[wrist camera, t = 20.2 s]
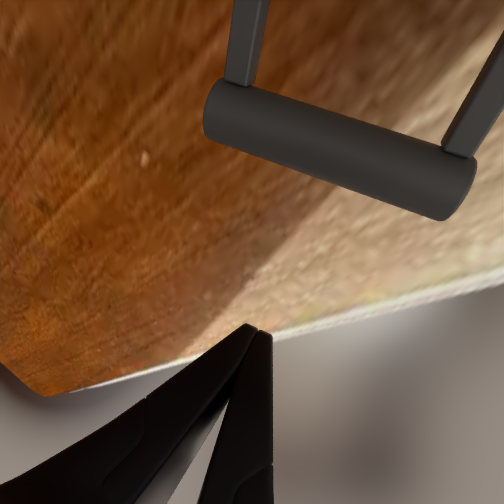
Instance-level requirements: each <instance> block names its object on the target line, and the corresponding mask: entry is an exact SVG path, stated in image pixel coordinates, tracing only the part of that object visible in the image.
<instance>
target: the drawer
mask: <svg viewBox="0 0 504 504" xmlns="http://www.w3.org/2000/svg"><path fill="white" fill-rule="evenodd" d="M269 4H270V0H234V6H233V14H232V21H231V29H230V36H229V43H228V51H227V58H226V66H225V73H224V78H221V79H219V80H217V81H216V82H215V84H214V85H213V87H212V88H211V90H210V92H209V95H208V97H207V100H206V104H205V108H204V114H203V129H204V133H205V135H206V136H207V137H208V138H209V139H210V140H212V141H215V142H218V143H221V144H223V145H226V146H229V147H232V148H235V149H237V150H240V151H243V152H246V153H249V154H251V155H254V156H257V157H260V158H263V159H265V160H268V161H271V162H274V163H277V164H279V165H282V166H285V167H288V168H291V169H293V170H296V171H299V172H302V173H304V174H307V175H310V176H313V177H316V178H318V179H321V180H324V181H327V182H330V183H332V184H335V185H338V186H341V187H344V188H346V189H349V190H352V191H355V192H358V193H360V194H363V195H366V196H369V197H372V198H374V199H377V200H380V201H383V202H386V203H388V204H391V205H394V206H397V207H400V208H402V209H405V210H408V211H411V212H414V213H416V214H419V215H422V216H425V217H428V218H430V219H433V220H436V221H445V220H446V219H448V218H449V217H450V216H451V215H452V214H453V213H454V212H455V211H456V210H457V209H458V207H459V206H460V205H461V203H462V202H463V200H464V199H465V197H466V195H467V194H468V192H469V190H470V188H471V185H472V183H473V181H474V178H475V174H476V170H477V160H476V159H475V158H474V157H473V155H474V154H475V152H476V151H477V149H478V147H479V146H480V144H481V143H482V141H483V140H484V138H485V137H486V135H487V133H488V132H489V130H490V129H491V127H492V126H493V124H494V123H495V121H496V120H497V118H498V116H499V115H500V113H501V112H502V110H503V109H504V31H503V33H502V34H501V36H500V38H499V40H498V41H497V43H496V45H495V47H494V48H493V50H492V52H491V54H490V55H489V57H488V59H487V61H486V63H485V64H484V66H483V68H482V70H481V71H480V73H479V75H478V77H477V78H476V80H475V82H474V84H473V85H472V87H471V89H470V91H469V93H468V94H467V96H466V98H465V100H464V101H463V103H462V105H461V107H460V108H459V110H458V112H457V114H456V115H455V117H454V119H453V121H452V123H451V124H450V126H449V128H448V130H447V131H446V133H445V135H444V137H443V138H442V140H441V146H439V145H435V144H432V143H429V142H426V141H423V140H420V139H417V138H413V137H410V136H407V135H404V134H401V133H398V132H395V131H392V130H388V129H385V128H382V127H379V126H376V125H373V124H370V123H366V122H363V121H360V120H357V119H354V118H351V117H348V116H345V115H341V114H338V113H335V112H332V111H329V110H326V109H323V108H319V107H316V106H313V105H310V104H307V103H304V102H301V101H297V100H294V99H291V98H288V97H285V96H282V95H279V94H276V93H272V92H269V91H266V90H263V89H260V88H257V87H254V86H250V85H252V84H254V82H255V78H256V72H257V67H258V62H259V56H260V51H261V46H262V41H263V35H264V30H265V25H266V19H267V14H268V9H269Z"/></svg>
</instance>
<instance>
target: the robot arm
mask: <svg viewBox="0 0 504 504" xmlns="http://www.w3.org/2000/svg"><path fill="white" fill-rule="evenodd" d="M228 401H229V402H228ZM227 402H228V405H227V409H226V412H225V415H224V418H223V421H222V425H221V428H220V431H219V434H218V437H217V440H216V444H215V447H214V450H213V453H212V457H211V460H210V463H209V466H208V469H207V473H206V475H205V479H204V482H203V485H202V489H201V491H200V495H199V498H198V501H197V504H274V494H273V466H272V463H273V337H272V335H271V334H269V333H267V332H265V331H263V330H259V331H258V329H257V328H256V327H254V326H252V325H250V324H247V323H245V324H243V325H242V326H240V327H239V328H238V329H236V330H235V331H234V332H232V333H231V334H229V335H228V336H227V337H225V338H224V339H223V340H221V341H220V342H219V343H217V344H216V345H215V346H213V347H212V348H211V349H209V350H208V351H207V352H205V353H204V354H203V355H201V356H200V357H198V358H197V359H196V360H194V361H193V362H192V363H190V364H189V365H188V366H186V367H185V368H184V369H182V370H181V371H180V372H179V373H177V374H176V375H174V376H173V377H172V378H170V379H169V380H167V381H166V382H165V383H164V384H162V385H161V386H160V387H158V388H157V389H155V390H154V391H153V392H151V393H150V394H149V395H147V397H146V399H145V398H143V399H142V400H140V401H139V402H138V403H136V404H135V405H134V406H132V407H131V408H129V409H128V410H127V411H125V412H124V413H122V414H121V415H119V416H118V417H117V418H115V419H114V420H112V421H111V422H109V423H108V424H106V425H104V426H103V427H101V428H100V429H98V430H96V431H95V432H93V433H92V434H90V435H88V436H87V437H85V438H83V439H82V440H80V441H78V442H77V443H75V444H73V445H71V446H70V447H68V448H66V449H65V450H63V451H61V452H60V453H58V454H56V455H55V456H53V457H51V458H49V459H48V460H46V461H44V462H43V463H41V464H39V465H37V466H36V467H34V468H32V469H31V470H29V471H27V472H25V473H23V474H22V475H20V476H18V477H16V478H14V479H12V480H10V481H7V482H5V483H3V484H1V485H0V504H167V502H168V501H169V499H170V497H171V496H172V494H173V492H174V490H175V489H176V487H177V486H178V484H179V482H180V481H181V479H182V477H183V476H184V474H185V472H186V471H187V469H188V467H189V466H190V464H191V462H192V461H193V459H194V458H195V456H196V454H197V453H198V451H199V449H200V448H201V446H202V444H203V443H204V441H205V439H206V437H207V436H208V434H209V433H210V431H211V429H212V427H213V426H214V424H215V422H216V421H217V419H218V418H219V416H220V414H221V413H222V411H223V409H224V408H225V406H226V404H227Z"/></svg>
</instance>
